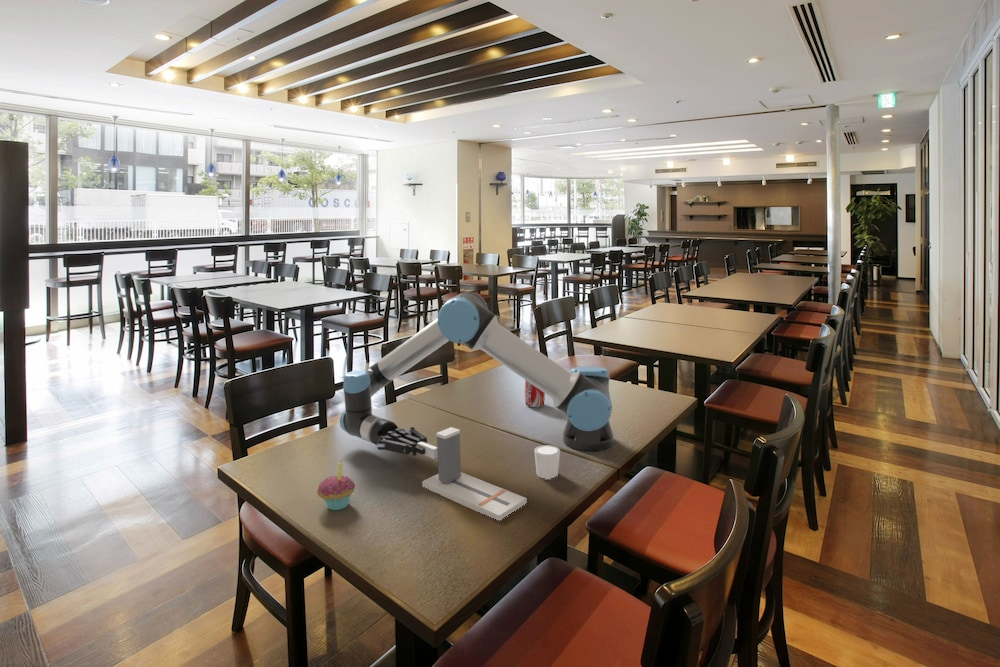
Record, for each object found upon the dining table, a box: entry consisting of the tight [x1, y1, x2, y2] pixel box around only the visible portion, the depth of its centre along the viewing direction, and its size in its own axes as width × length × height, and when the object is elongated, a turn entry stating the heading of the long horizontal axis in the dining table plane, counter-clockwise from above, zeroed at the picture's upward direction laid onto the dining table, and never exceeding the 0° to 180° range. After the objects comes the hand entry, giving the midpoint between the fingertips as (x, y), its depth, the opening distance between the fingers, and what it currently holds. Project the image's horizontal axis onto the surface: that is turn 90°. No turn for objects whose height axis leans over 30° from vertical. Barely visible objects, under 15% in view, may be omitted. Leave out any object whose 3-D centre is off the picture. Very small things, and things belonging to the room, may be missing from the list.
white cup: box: [534, 444, 561, 480], centre depth 145 cm, size 7×7×7 cm
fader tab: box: [435, 426, 462, 484], centre depth 139 cm, size 3×5×13 cm, turn 140°
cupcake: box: [316, 460, 356, 511], centre depth 130 cm, size 9×8×12 cm
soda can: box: [524, 379, 546, 408], centre depth 198 cm, size 7×7×12 cm
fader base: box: [421, 471, 528, 522], centre depth 135 cm, size 26×10×2 cm, turn 50°
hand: (436, 453), depth 141 cm, fingers closed
